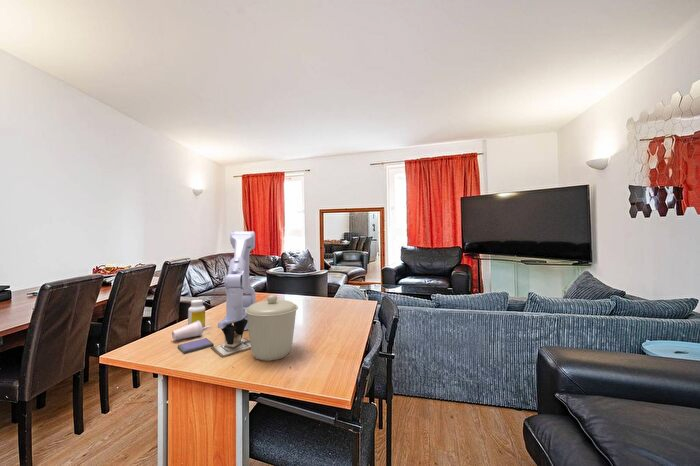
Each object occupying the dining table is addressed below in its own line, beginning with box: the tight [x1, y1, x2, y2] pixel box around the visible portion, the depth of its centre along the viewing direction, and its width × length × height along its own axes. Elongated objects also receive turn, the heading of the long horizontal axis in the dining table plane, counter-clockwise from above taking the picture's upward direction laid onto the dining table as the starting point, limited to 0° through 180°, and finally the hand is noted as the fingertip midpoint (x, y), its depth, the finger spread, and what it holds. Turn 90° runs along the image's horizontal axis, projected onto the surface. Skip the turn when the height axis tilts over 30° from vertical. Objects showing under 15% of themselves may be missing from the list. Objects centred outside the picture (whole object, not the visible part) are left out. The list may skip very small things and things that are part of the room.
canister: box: [245, 294, 299, 361], centre depth 97 cm, size 18×18×21 cm
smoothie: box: [171, 320, 212, 341], centre depth 113 cm, size 6×6×14 cm
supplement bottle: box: [187, 299, 206, 328], centre depth 121 cm, size 7×7×13 cm
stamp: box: [224, 333, 242, 349], centre depth 103 cm, size 4×4×5 cm
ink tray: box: [177, 337, 214, 355], centre depth 103 cm, size 10×8×1 cm
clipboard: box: [210, 337, 251, 359], centre depth 103 cm, size 14×11×1 cm
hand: (234, 341), depth 102 cm, fingers closed on stamp, 4 cm apart
